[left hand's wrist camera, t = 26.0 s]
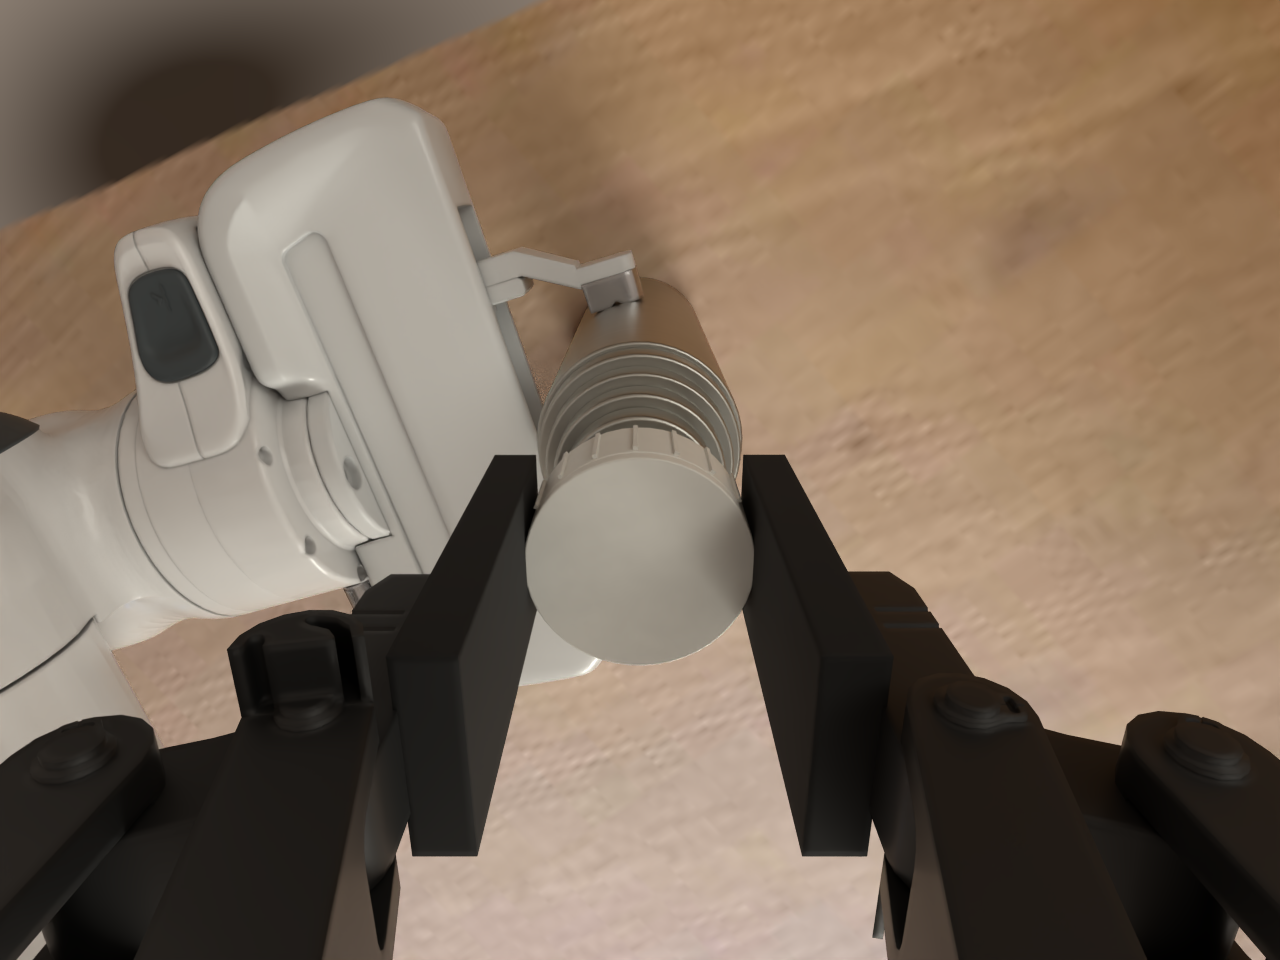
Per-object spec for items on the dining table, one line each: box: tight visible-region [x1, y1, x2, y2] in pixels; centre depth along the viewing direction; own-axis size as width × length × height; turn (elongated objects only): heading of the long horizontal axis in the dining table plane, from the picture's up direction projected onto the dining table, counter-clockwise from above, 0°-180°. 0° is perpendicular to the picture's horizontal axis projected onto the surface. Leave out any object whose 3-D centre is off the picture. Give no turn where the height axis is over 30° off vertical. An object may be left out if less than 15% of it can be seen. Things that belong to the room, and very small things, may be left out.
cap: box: [525, 425, 754, 666], centre depth 14 cm, size 4×4×2 cm
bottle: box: [537, 278, 742, 481], centre depth 23 cm, size 5×5×20 cm
